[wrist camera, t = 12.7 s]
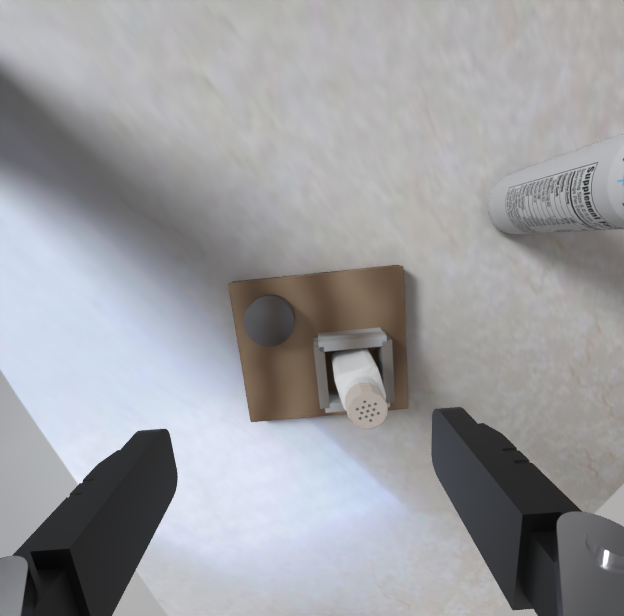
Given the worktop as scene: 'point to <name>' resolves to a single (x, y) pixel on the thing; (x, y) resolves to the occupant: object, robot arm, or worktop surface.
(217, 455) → the worktop surface
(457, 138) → the worktop surface
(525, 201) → the energy drink can
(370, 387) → the salt shaker
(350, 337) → the carrier board
